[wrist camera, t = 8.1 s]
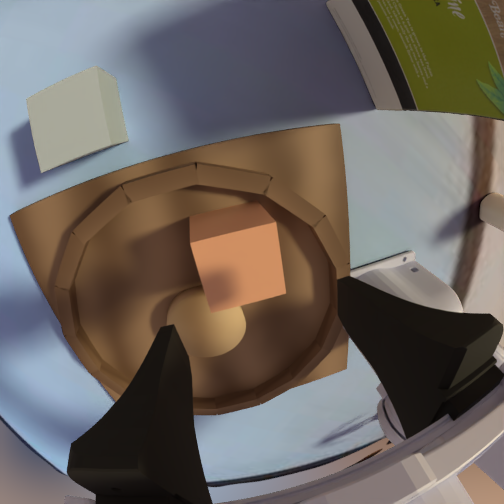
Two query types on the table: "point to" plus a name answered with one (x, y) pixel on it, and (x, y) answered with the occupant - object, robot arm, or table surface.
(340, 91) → the table surface
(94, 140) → the grey cube
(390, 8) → the tea box
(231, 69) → the table surface
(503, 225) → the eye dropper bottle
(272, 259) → the orange cube
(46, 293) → the groove tray
